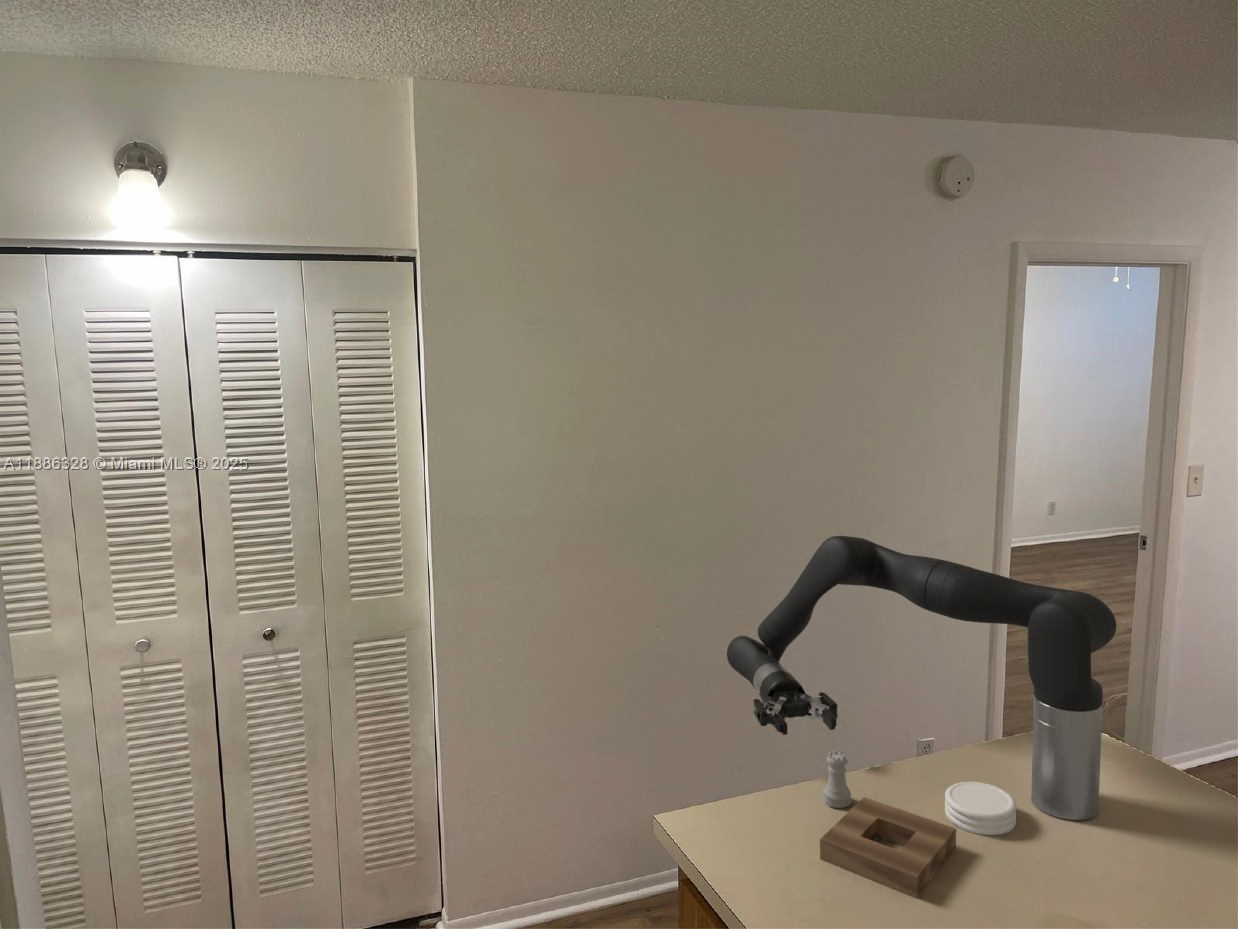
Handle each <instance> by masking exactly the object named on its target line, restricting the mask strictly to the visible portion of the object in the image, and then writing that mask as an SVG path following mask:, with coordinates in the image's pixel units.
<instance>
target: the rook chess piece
mask: <svg viewBox="0 0 1238 929" xmlns="http://www.w3.org/2000/svg"><path fill="white" fill-rule="evenodd" d="M826 762H827V764H828V768H827V771H828V774H829V775H828V783H827V784H826V786H825V788H824V789H823V797H822V800H823V802H824V803H825V804H826V805H827V806H828V805H829V806H828V807H830V806H831V808H833V809H845V808H847V807H849V806H850V805H851V804H852V802H853V801H852V792H851V790H850V789H849V786H848V784H847V781H846V780H847V779H846V771H847V769H846V767H845V766H846V765H848V759H847V757H846V754H845V753H843V752H842V751H838V753H837V750H833V752H832V751H830V752H829V753H828V756H827V757H826ZM848 805H849V806H848Z"/></svg>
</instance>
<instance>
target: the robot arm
mask: <svg viewBox="0 0 1238 929" xmlns="http://www.w3.org/2000/svg"><path fill="white" fill-rule="evenodd" d="M838 585H840V586H841V585H842V586H843V585H845V586H861V587H862V586H863V587H871V588H877V589H882V590H886V591H889V592H894V593H895V594H898V595H900V596H902V597H903V598H905V599H906V600H908V601H909V602H911V603H913V604H914V605H916V606H918V607H919V608H920V609H921V608H922V609H923V610H926V611H928V612H932V613H934V614H938V615H941V616H944V617H947V618H950V619H954V620H957V621H958V620H959V621H963V622H970V623H972V622H973V623H980V624H981V623H982V624H983V623H984V624H999V625H1001V624H1002V625H1011V626H1013V625H1014V626H1019V627H1024V628H1027V660H1028V661H1027V662H1028V663H1027V664H1028V665H1027V666H1028V673H1029V674H1028V675H1029V678H1030V680H1031V684H1032V685H1033V707H1032V708H1033V709H1032V710H1033V717H1032V719H1033V720H1032V750H1031V751H1032V752H1031V753H1032V756H1031V759H1032V760H1031V786H1030V787H1031V788H1030V789H1031V793H1030V799H1031V802H1032V804H1033V805H1034V806H1035V807H1036V808H1037V809H1039V810H1040V811H1042V812H1043V813H1045V814H1048V815H1050V816H1053V817H1055V818H1059V819H1063V820H1071V821H1085V820H1089V819H1092V818H1093V819H1094V818H1095V817H1096V816H1097V815H1098V814H1099V804H1100V800H1099V799H1100V783H1101V780H1100V779H1101V778H1100V777H1101V755H1102V754H1101V752H1102V751H1101V749H1102V730H1103V728H1102V725H1103V723H1102V721H1103V697H1104V696H1103V695H1104V694H1103V692H1104V691H1103V687H1102V685H1101V683H1099V681H1097V680H1096V679H1095V678H1092V654H1094V653H1095V652H1097V651H1099V650H1101V649H1102V648H1104V647H1106V645H1108V644H1109V643H1110V642H1111V640H1113V638H1114V636H1115V635H1116V632H1117V621H1116V617H1115V615H1114V613H1113V612H1112V610H1111V609H1110V608H1109V605H1107V604H1105V602H1104V601H1102V600H1101V599H1099V598H1097V597H1096V596H1094V595H1092V594H1089V593H1087V592H1085V591H1084V592H1083V591H1079V590H1078V591H1077V590H1070V589H1066V588H1065V589H1064V588H1058V587H1053V586H1052V587H1051V586H1046V585H1037V584H1033V583H1028V582H1024V581H1020V580H1016V579H1013V578H1010V577H1007V576H1003V575H1001V574H996V573H993V572H989V571H984V570H980V569H978V568H975V567H971V566H968V565H964V564H960V563H956V562H953V561H950V560H949V561H948V560H945V559H940V558H936V557H935V558H934V557H929V556H923V555H913V554H905V553H901V552H899V551H897V550H896V551H895V550H893V549H890V548H887V547H885V546H882V545H880V544H879V543H875V542H873V541H870V540H868V539H866V538H863V537H857V536H848V535H833V536H831V537H828V538H826V539H825V540H824V541H823V542H822V543H821V544H820V545H819V546H818V548H817V549H816V551H815V552H814V554H813V555H812V557H811V559H810V560H809V562H808V563H807V565H806V566H805V568H804V569H803V570H802V572H801V574H800V575H799V577H798V578H797V580H796V581H795V583H794V584H793V586H792V587H791V588H790V590H789V592H788V593H787V594H786V595H785V597H784V598H783V599H782V600H781V601H780V602H779V603H778V604H777V606H776V607H775V608H773V610H771V612H770V613H768V615H767V616H766V617H765V618H764V619H763V620H762V621H761V623H759V625H758V627H757V635H758V638H759V639H760V641H761V642H760V641H758V640H755V639H753V638H751V637H749V636H747V635H739V636H736V637H735V638H733V639H732V640H731V641H729V644H728V645H727V648H726V658H727V661H728V664H729V665H730V667H731V668H732V669H733V670H734V671H736V673H738V674H739V675H741V676H742V677H743V678H745V679H746V680H747V681H749V682H750V684H751V685H752V687H753V688H754V690H755V691H756V693H757V696H758V697H759V698H754V699H753V700H752V701H753V703H752V704H753V705H752V706H753V715H754V716H755V718H756V719H757V720H756V721H757V722H758V723H759V725H760V726H762V727H766V726H768V724H769V725H771V726H772V727H773V728H774V729H775V731H776V732H778V733H781V735H782V736H785V735H788V723H787V721H786V719H791V718H792V719H793V718H798V717H799V718H802V717H803V718H805V719H809V720H813V721H815V720H820V721H822V722H823V723H824V724H825V726H826V727H827V728H828V729H829V730H830V731H832V730H835V729H836V727H837V719H838V703H837V702H836V701H834V699H832V698H831V697H830V696H829V695H828V694H827V693H825V692H822V691H821V692H819V693H818V696H815V697H812V696H811V695H810V694H807V693H806V691H805V689H804V688H803V686H802V684H801V683H800V682H799V681H798V680H797V679H796V678H795V677H794V675H792V673H791V672H790V671H789V670H788V669H786V668H785V667H784V666H783V665H782V664H781V663H780V660H781V659H782V657H783V655H784V653H785V652H786V649H787V648H788V647H789V645H791V643H792V642H794V641H795V639H797V637H798V636H799V635H801V634H802V632H803V631H804V630H805V629H806V627H807V626H808V625H809V623H810V621H811V620H812V615H813V612H814V609H815V607H816V605H817V603H818V601H820V599H822V597H823V596H824V595H825V594H827V592H828V591H830V590H832V589H833V588H835V587H836V586H838ZM760 699H761V700H760ZM767 710H768V711H767ZM819 710H821V713H820V711H819ZM810 711H811V712H810Z"/></svg>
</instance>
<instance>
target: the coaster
mask: <svg viewBox="0 0 1238 929" xmlns="http://www.w3.org/2000/svg"><path fill="white" fill-rule="evenodd" d="M944 798H945V799H944V813H945V815H946V818H947V820H949V822H951V823H952V824H953V825H954V826H956V827H958V828H960V829H962V830H963V831H966V832H968V833H969V832H970V833H973V834H977V835H983V836H998V835H999V836H1000V835H1005V834H1007V833H1009V832H1011V831H1013V829H1014V828H1015V827H1016V824H1017V819H1016V818H1017V803H1016V800H1015V798H1013V797H1012V795H1010V794H1009V793H1008V792H1007V791H1005V790H1004V789H1002V788H1001V787H999V786H995V785H992V784H988V783H986V782H979V781H962V782H957V783H954V784H952V785H950V786H949V787H947V789H945V793H944Z"/></svg>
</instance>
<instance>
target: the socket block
mask: <svg viewBox="0 0 1238 929" xmlns="http://www.w3.org/2000/svg"><path fill="white" fill-rule="evenodd" d="M880 837H881V838H880ZM877 838H880V839H883V838H885V839H887V840H886V841H888V840H889V842H892V843H893V842H895V843H894V844H896V843H897V844H896V845H900V846H902V848H900V850H898V849H896V848H894V847H890V846H888V845H884V844H883V843H880V842H877V841H876V840H877ZM885 839H884V840H885ZM956 848H957V828H956V827H953V826H950V825H948V824H947V825H946V824H944V823H942V822H938V821H936V820H933V819H929V818H926V817H924V816H920V815H919V814H915V813H912V812H910V811H906V810H903V809H901V808H897V807H894V806H891V805H888V804H887V803H883V802H879V801H877V800H874V799H871V798H867V797H866V796H864V797H862V798H861V799H860V800H859V801H858V802H857V803H856V804H855V805H854V806H853V807H851V809H850V810H849V811H848V812H847V813H846V814H845V815H844V816H842V818H840V819H839V820H838V821H837V822H836V823H835V824H834V825H833V826H832V827H831V828H830V829H828V831H827V832H826V833H825V834H823V836H821V837H820V838H819V859H820V860H822V861H824V862H828V863H829V862H830V864H832V865H834V866H837V867H839V866H840V868H841V869H844V870H847V871H849V872H852V873H854V874H857V875H859V876H862V877H864V878H867V879H869V880H871V881H874V882H877V883H879V884H881V885H884V886H886V887H888V888H891V889H893V890H896V891H898V892H900V893H904V894H906V895H908V896H910V897H913V898H916V899H918V898H919V896H920V895H921V894H922V892H923V891H924V890H925V888H926V887H927V886H928V884H929V883H930V882H931V881H932V880H933V878H934V877H935V876H936V874H937V873H938V872H939V870H940V869H941V868H942V866H943V865H944V864H945V863H946V862H947V860H948V859H949V858H950V856H951V855H952V853H953V852H954V851H955V850H956Z"/></svg>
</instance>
